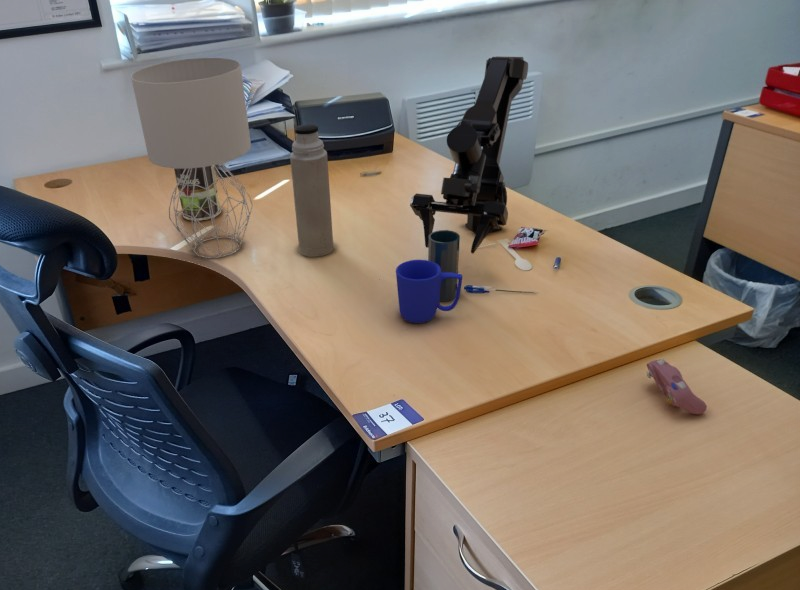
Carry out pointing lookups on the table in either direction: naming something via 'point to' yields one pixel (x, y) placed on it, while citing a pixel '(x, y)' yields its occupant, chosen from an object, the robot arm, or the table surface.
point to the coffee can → (198, 192)
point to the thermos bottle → (311, 192)
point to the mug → (422, 290)
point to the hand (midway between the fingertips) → (449, 249)
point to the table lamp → (195, 125)
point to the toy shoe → (675, 387)
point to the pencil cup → (445, 259)
